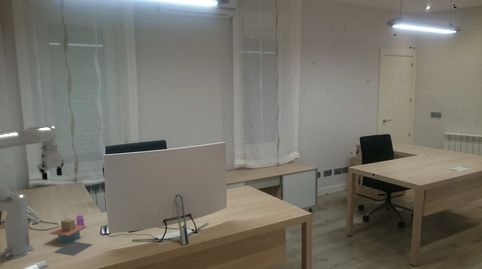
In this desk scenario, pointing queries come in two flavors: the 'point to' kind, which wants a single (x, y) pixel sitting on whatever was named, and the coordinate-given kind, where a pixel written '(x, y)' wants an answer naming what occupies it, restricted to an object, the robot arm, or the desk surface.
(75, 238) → the bowl
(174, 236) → the desk surface
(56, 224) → the desk surface
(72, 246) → the mat
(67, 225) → the lid
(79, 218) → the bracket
